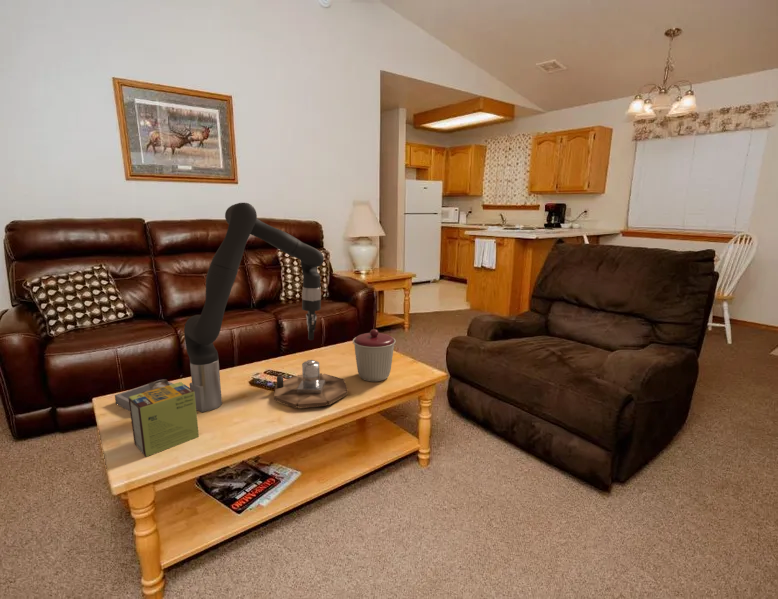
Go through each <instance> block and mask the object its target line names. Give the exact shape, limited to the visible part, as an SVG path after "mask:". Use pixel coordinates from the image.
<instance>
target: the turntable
mask: <svg viewBox="0 0 778 599" xmlns="http://www.w3.org/2000/svg"><path fill="white" fill-rule="evenodd" d="M302 380H303V374H298V375H294V376H291V377H289V378H287V379H285V380H284V375H278V376H276V384H275V385H274V394H273V398H274V399H273V400H275V402H276V403H277V402H278V403H280V404H283V405H286V406H289V407H292V408H295V409H296V408H298V409H305V408H315V407H316V408H317V407H325V406H327V405H328V406H330V405H331V404H334V403H335V402H337V401H339V400H340V399H342V398H344V397H346V396H347V395H348V393H349V391H348V387H347V384H346V380H345V379H343V378H341V377H338V376H334V375H332V374H331V375H330V374H328V373H320V380H325V386H324V388H323V390H322V392H321V394H316V393H297V388H298V386H299V385H300V383H301V382H302Z"/></svg>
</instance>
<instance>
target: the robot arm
mask: <svg viewBox="0 0 778 599" xmlns="http://www.w3.org/2000/svg"><path fill="white" fill-rule="evenodd" d="M224 218H225V222H226V223H227V225H228V226H227V230H226V233H225V237H224V238H223V240H222V242H221V244H220V245H219V247H218V249H217V250H216V252H215V254H214V255H213V257H212V259H211V261H210V264H209V267H208V270H207V273H206V277H205V302H204V304H203V308H202V311H201V313H200V314H195V315H192V316H190V317H189V318H188V319H187V320H186V321H185V324H184V327H183V333H184V342H185V343H184V344H185V350H186V353H187V356H188V357H189V367H190V375H191V376H190V378H191V382H189V388H191V389H192V390H194V391H195V402H196V411H197V412H200V413H204V412H209V411H213V410H216V409H218V408H220V407H221V406H222V405H223V400H222V399H223V398H222V386H221V375H220V373H221V372H220V363H219V353H218V350H217V349H216V347H215V345H214V342H216V340H217V339H218V338H219V335H220V333H221V329H222V324H223V320H224V315H225V311H226V307H227V304H228V301H229V298H230V295H231V293H232V289H233V286H234V283H235V281H236V279H237V278H236V277H237V275H238V272H239V269H240V266H241V261H242V258H243V256H244V251H245V248H246V245H247V243H248V242H247V241H248V240H249V238H250V235H251V236H254V237H255V238H258V239H260V240H262V241H264V242H265V243H268V244H269V245H271V246H273V247H274V248H276V249H278V250H280V251H281V252H283V253H285V254H287V255H288V256H291V257H292V258H296V259H298V260H300V267H301V273H302V291H301V292H302V293H301V297H302V298H301V300H302V301H301V310H303V311H305V312H306V311H307V313H305V318H306V325H307V331H308V332H307V333H308V334H307V335H308V336H307V339H308V340H309V341H314V339H315V331H316V326H317V319H318V318H317V314H316V311H317V312H318V311H321V308H322V307H321V306H322V291H321V290H322V289H321V275H320V273H319V272H318V267H320V266H322V265H323V264H324V261H325V260H324V259H325V257H324V255H323V253H322V251H320V250H319V249H317V248H315V247H313V246H311V245H309V244H307V243H305V242H303V241H301V240H300V239H298V238H296V237H295V236H293V235H291V234H290V233H287V232H286V231H284V230H282V229H279V228H276V227H274V226H273V225H272V226H271V225H270V224H267V223H266V222H264V221H262V220H260V219H259V218H258V215H257V211H256V209H255V207H254V206H253V205H252V204H250V203H248V202H238V203H235V204H232V205H229V207H228V208H227V209H226V210H225V213H224Z"/></svg>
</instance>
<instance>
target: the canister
mask: <svg viewBox="0 0 778 599" xmlns="http://www.w3.org/2000/svg"><path fill="white" fill-rule="evenodd" d="M396 342H397V341H396V339H395V337H393V336H391V335H389V334H387V333H382V332H379V330H378V329H375V328H374V329H371V330H370V331H369V332H366V333H361V334H359V335H357V336H355V337H354V338H353V339H352V343H353V345H354V355H355V360H356V361H355V362H356V369H357V374H358V376H359V377H360V378H361V380H364V381H367V382H381V381H384V380H386V379H387V378H389V376H390V373H391V370H392V363H393V356H394V349H395V348H394V347H395V344H396Z"/></svg>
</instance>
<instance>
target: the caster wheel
mask: <svg viewBox="0 0 778 599" xmlns="http://www.w3.org/2000/svg"><path fill="white" fill-rule="evenodd" d="M160 380H161V379H160ZM168 382H169V381H168V379H166V378H165V379H163V380H161V381H158V380H156V382H155V381H151V382H149V383H148V384H149V387H150V389H148V390H145V392H148V391H151V390H154V389H158V388H161V387H165V386H169V383H168ZM142 393H144V392H142Z"/></svg>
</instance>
